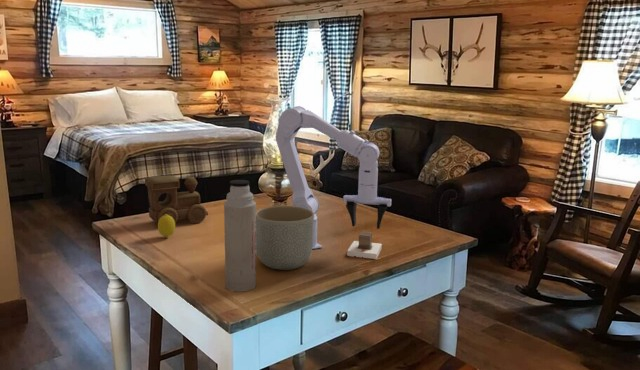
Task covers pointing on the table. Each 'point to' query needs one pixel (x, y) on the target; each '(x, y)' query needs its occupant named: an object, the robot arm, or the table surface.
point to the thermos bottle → (240, 237)
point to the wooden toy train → (174, 199)
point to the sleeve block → (362, 252)
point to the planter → (284, 236)
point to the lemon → (166, 225)
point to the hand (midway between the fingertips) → (366, 226)
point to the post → (365, 240)
